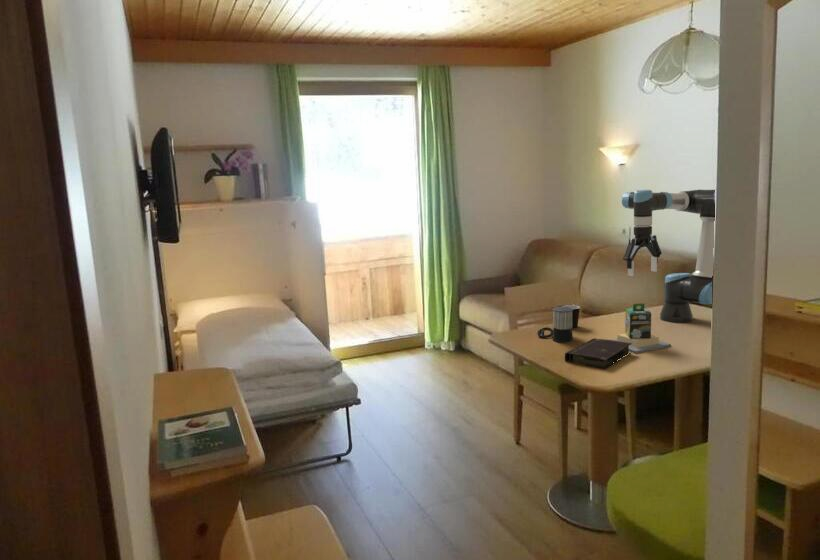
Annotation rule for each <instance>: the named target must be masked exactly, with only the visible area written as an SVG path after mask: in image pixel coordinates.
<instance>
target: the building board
mask: <svg viewBox="0 0 820 560" xmlns="http://www.w3.org/2000/svg"><path fill="white" fill-rule="evenodd" d="M612 340H614V341H621V342H627V343H632V344H631V345H629V351H630V352H629V353H632V352H633V354H640V353H645V352H650V351H654V350H655V351H656V350H660V349H663V348H664V347H665V348H669V347H672V343H670V342H666V341H664V340H660V337H659V336H656V335H653V334H651V338H631V339H630V338H629V337H628V336H627V334H626V333H625V332H624V333H619V334H617V338H612ZM665 348H664V349H665Z"/></svg>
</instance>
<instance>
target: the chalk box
mask: <svg viewBox="0 0 820 560" xmlns="http://www.w3.org/2000/svg"><path fill="white" fill-rule="evenodd" d="M624 313H625V317H624V318H625V320H624V321H625V322H624V323H625V324H624V326H625V328H624V330H625V332H624V333H626V334H627V336H628V337H629V338H630V339H631V338H651V335H652V312H651V311H650V310H649V309H648V308H647V307H645V303H642V302H641V303H633V305H632V308H625V312H624Z"/></svg>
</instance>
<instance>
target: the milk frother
mask: <svg viewBox="0 0 820 560" xmlns="http://www.w3.org/2000/svg"><path fill="white" fill-rule="evenodd" d="M572 310H573V309H572V308H570V307H562V306H555V307H553V308H552V312H553V313H552V314H553V315H552V316H553V317H552V318H553V319H552V320H553V323H552V325H553V326H552V327H553V328H551V327H548V326H547V327H542V328H540V329H538V331H537V336H538V337H540V338H543V339H546V338H551V337H552V341H553V342H556V343H563V344H565V343H571V342H573V341H574V338H573V337H574V336H573V329H572ZM545 331H549V332H550V333H549V334H545Z"/></svg>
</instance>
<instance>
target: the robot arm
mask: <svg viewBox="0 0 820 560" xmlns="http://www.w3.org/2000/svg"><path fill="white" fill-rule="evenodd" d="M715 190H716V189H693V190H692V189H691V190H681V191H677V192H675V193H673V192H667V191H660V192H653V191H652V190H651V189H638V190H635V191H629V192H625V193H624V194H623V195H622V197H621V205H622V207H623V208H625V209H631V210H633V225H634V227H633V235H634V238H631V237H630V238H628V244H627V247H626V250H625V252H624V254H623V258H622V259H623V260H624V261H625V262H626V269H627V276H630V277H634V276H635V273H634V272H635V261H633V260H634V259H635V257H636V255H637V253H638V252H639V250H640V249H641V248H645V247H646V249H647V250H648V251H649V253H650V254H651V257H650V271H651V272H653V273H655V272H656V273H657V272H658V263H659V262H658V261H659V257H661V256H662V250H661V248H660V245H659V242H658V240H657V235H656V234H653V226H652V225H653V211H660V210H661V211H662V210H675V211H677V212H686V213H690V214H691V213H692V214H698V215H699V219H700V220H701V222H702V223H701V230H700V231H701V232H700V236H699V237H700V238H699V243H698V244H699V245H698V250H697V257H696V265H695V270H694V272H692V273H689V272H677V273H676V272H675V273H670V274H667V275H665V279H664V299H663V300H664V301H663V305H662V308H661V311H660V313H659V319H660V320H662V321H665V322H671V323H688V322H689V323H690V322H692V321H694V320H693V319H694V315H693V313H692V308H691V305H690V303H691V302H693V303H698V304H701V305H713V304H712V276H713V248H714V221H715Z"/></svg>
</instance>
